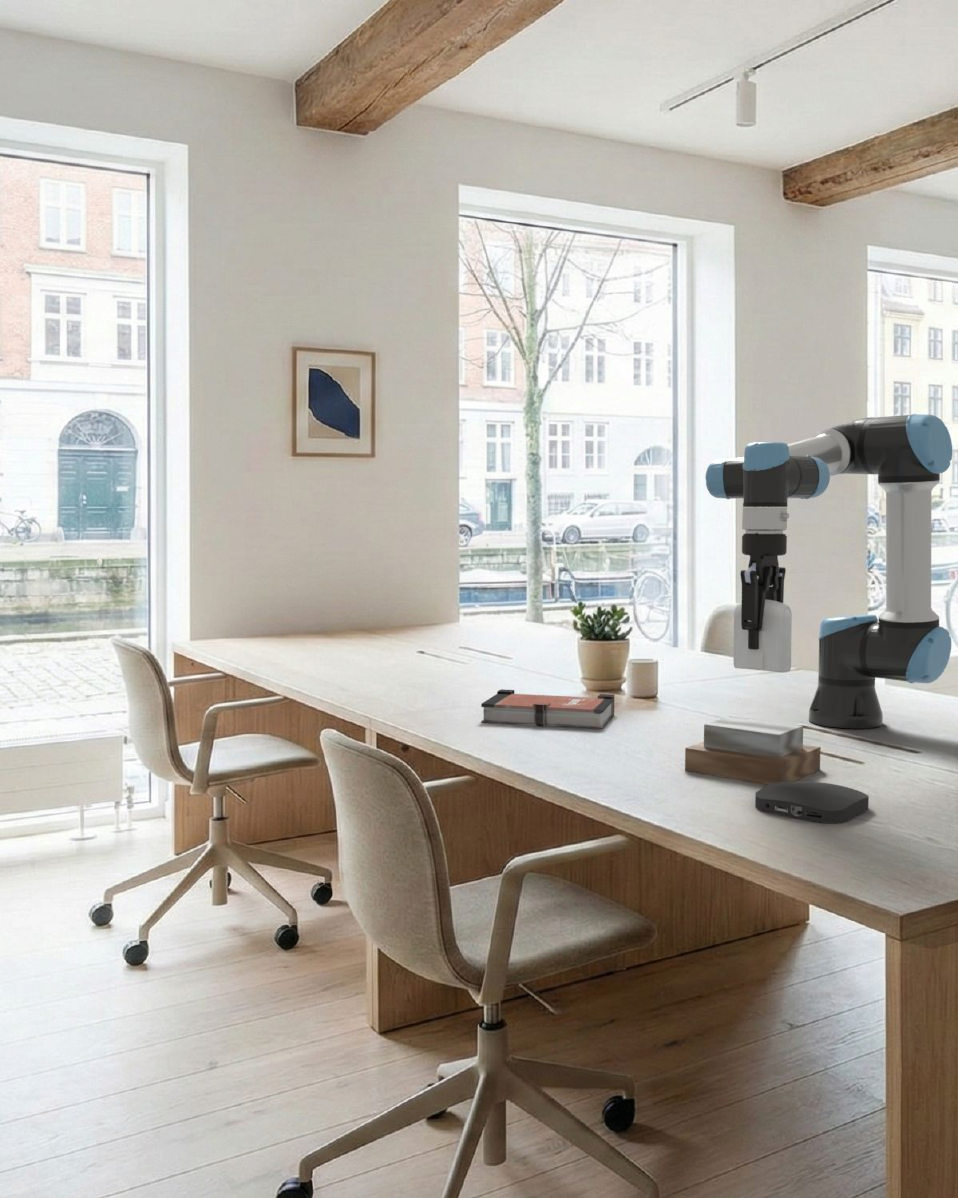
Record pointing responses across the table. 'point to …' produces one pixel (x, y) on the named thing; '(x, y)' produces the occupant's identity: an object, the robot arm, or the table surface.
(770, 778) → the grey block on wood
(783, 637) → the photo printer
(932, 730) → the table surface
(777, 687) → the table surface
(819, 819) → the media streaming box
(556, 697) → the book
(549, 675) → the table surface
